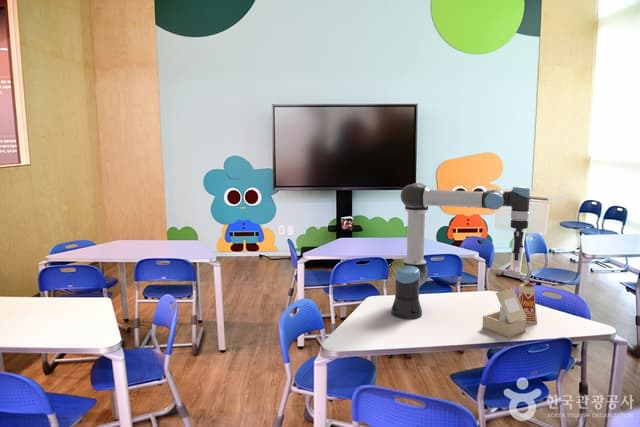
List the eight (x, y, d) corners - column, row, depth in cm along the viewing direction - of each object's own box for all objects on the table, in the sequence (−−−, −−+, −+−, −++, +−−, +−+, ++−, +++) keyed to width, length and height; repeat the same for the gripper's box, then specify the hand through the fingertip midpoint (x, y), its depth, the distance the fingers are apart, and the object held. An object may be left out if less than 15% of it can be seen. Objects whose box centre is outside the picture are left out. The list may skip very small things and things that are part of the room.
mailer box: (482, 328, 224) (483, 303, 222) (498, 323, 231) (499, 299, 229) (509, 337, 212) (510, 312, 211) (525, 332, 219) (526, 307, 218)
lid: (495, 293, 217) (497, 292, 216) (511, 288, 223) (513, 288, 223) (509, 323, 212) (510, 322, 211) (525, 318, 218) (527, 317, 218)
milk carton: (537, 323, 231) (540, 282, 228) (516, 321, 232) (519, 281, 230) (533, 316, 239) (535, 277, 237) (513, 315, 241) (515, 276, 239)
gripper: (526, 223, 215) (523, 270, 217) (529, 216, 237) (527, 259, 240) (508, 222, 218) (506, 268, 221) (513, 216, 240) (510, 257, 243)
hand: (516, 264), depth 230 cm, fingers open, 13 cm apart
